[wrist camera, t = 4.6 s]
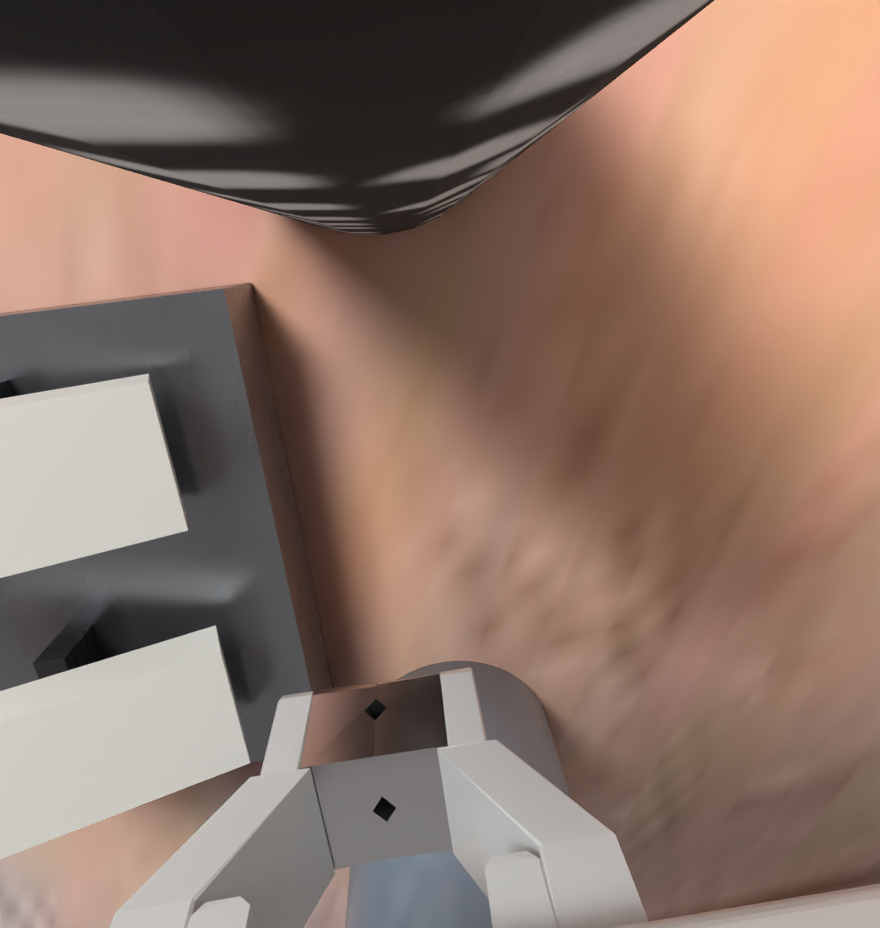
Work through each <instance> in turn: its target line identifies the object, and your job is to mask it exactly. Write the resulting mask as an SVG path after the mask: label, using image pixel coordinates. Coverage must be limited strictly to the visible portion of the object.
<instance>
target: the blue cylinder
mask: <svg viewBox="0 0 880 928" xmlns="http://www.w3.org/2000/svg"><path fill="white" fill-rule="evenodd" d="M467 667H471V669H472V670H473V673H474V678H475V683H476V688H477V693H478V698H479V703H480V708H481V713H482V718H483V723H484V728H485V733H486V738H487V741H488V740H495V739H496V740H498V741H499V742H501V743H502V744H503V745H504V746H506V747H507V748H508V749H509V750H511V751H512V752H513V753H514V754H516V755H517V756H518V757H519V758H521V759H522V760H523V761H524V762H526V763H527V764H528V765H529V766H531V767H532V768H533V769H534V770H536V771H537V772H538V773H539V774H541V775H542V776H543V777H544V778H546V779H547V780H548V781H549V782H551V783H552V784H553V785H554V786H556V787H557V788H558V789H559V790H561V791H562V792H563V793H564V794H566V795H567V796H568V797H569V798H571V795H570V792H569V788H568V785H567V782H566V779H565V776H564V772H563V769H562V766H561V763H560V760H559V756H558V753H557V750H556V747H555V744H554V741H553V737H552V734H551V731H550V728H549V725H548V721H547V718H546V715H545V712H544V709H543V707H542V705H541V703H540V701H539V700H538V698H537V697H536V695H535V694H534V693H533V691H532V690H531V689H530V688H529V687H528V686H527V685H526V684H525V683H523V682H522V681H521V680H519V679H518V678H517V677H515V676H514V675H512V674H510V673H508V672H506V671H504V670H502V669H499V668H497V667H494V666H491V665H487V664H483V663H477V662H470V661H452V662H442V663H437V664H432V665H429V666H425V667H422V668H419V669H417V670H415V671H412V672H410V673H408V674H406V675H404V676H403V677H401V678H399V679H398V680H402V679H408V678H415V677H421V676H428V675H434V674H439V675H440V672H445V671H451V670H456V669H462V668H467ZM440 682H441V679H440ZM441 688H442V687H441ZM571 799H572V798H571ZM345 928H492V921H491V914H490V906H489V899H488V898H487V896H486V895H485V894H484V893H483V891H482V890H481V889H480V887H479V886H478V885H477V883H476V882H475V881H474V880H473V878H472V877H471V876H470V874H469V873H468V872H467V871H466V869H465V868H464V867H463V865H462V864H461V863H460V861H459V860H458V859H457V858H456V856H455V855H454V854H453V851H445V852H437V853H430V854H422V855H414V856H406V857H399V858H392V859H386V860H381V861H376V862H371V863H365V864H360V865H355V866H350V875H349V887H348V900H347V912H346V925H345Z"/></svg>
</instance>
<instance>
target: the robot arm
mask: <svg viewBox="0 0 880 928" xmlns="http://www.w3.org/2000/svg"><path fill="white" fill-rule="evenodd" d="M440 679H441V682H440ZM441 687H442V688H441ZM445 851H453V854H454V855H455V856H456V858H457V859H458V860H459V861H460V863H461V864H462V865H463V867H464V868H465V869H466V871H467V872H468V873H469V874H470V876H471V877H472V878H473V880H474V881H475V882H476V883H477V885H478V886H479V887H480V889H481V890H482V891H483V893H484V894H485V895H486V896H487V898H488V899H489V906H490V914H491V921H492V928H880V883H879V884H873V885H867V886H861V887H855V888H849V889H843V890H837V891H831V892H825V893H819V894H813V895H806V896H800V897H794V898H788V899H782V900H776V901H770V902H764V903H758V904H752V905H746V906H740V907H733V908H727V909H721V910H715V911H709V912H703V913H697V914H691V915H685V916H679V917H673V918H667V919H660V920H654V921H649V920H648V918H647V915H646V913H645V910H644V907H643V905H642V902H641V900H640V897H639V894H638V892H637V889H636V887H635V884H634V881H633V879H632V876H631V874H630V871H629V868H628V866H627V863H626V861H625V858H624V855H623V853H622V850H621V848H620V845H619V842H618V840H617V837H616V835H615V834H614V833H613V832H612V831H611V830H609V829H608V828H607V827H606V826H604V825H603V824H602V823H601V822H599V821H598V820H597V819H596V818H594V817H593V816H592V815H591V814H589V813H588V812H587V811H586V810H584V809H583V808H582V807H581V806H579V805H578V804H577V803H576V802H574V801H573V800H572V799H571V798H569V797H568V796H567V795H566V794H564V793H563V792H562V791H561V790H559V789H558V788H557V787H556V786H554V785H553V784H552V783H551V782H549V781H548V780H547V779H546V778H544V777H543V776H542V775H541V774H539V773H538V772H537V771H536V770H534V769H533V768H532V767H531V766H529V765H528V764H527V763H526V762H524V761H523V760H522V759H521V758H519V757H518V756H517V755H516V754H514V753H513V752H512V751H511V750H509V749H508V748H507V747H506V746H504V745H503V744H502V743H501V742H499V741H498V740H496V739H495V740H488V741H487V738H486V733H485V728H484V723H483V718H482V713H481V708H480V703H479V698H478V693H477V688H476V683H475V678H474V673H473V670H472V669H471V667H467V668H462V669H456V670H451V671H445V672H440V675H439V674H434V675H428V676H421V677H415V678H408V679H402V680H395V681H389V682H382V683H371V684H364V685H356V686H348V687H340V688H332V689H324V690H316V691H315V692H313V691H310V692H303V693H296V694H289V695H283V696H282V697H281V699H280V700H279V701H278V704H277V709H276V713H275V717H274V721H273V725H272V729H271V733H270V737H269V741H268V745H267V749H266V753H265V758H264V762H263V766H262V770H261V774H260V776H254V777H250V778H249V779H248V780H247V781H246V782H245V783H244V784H243V785H242V786H241V787H240V788H239V789H238V790H237V791H236V792H235V793H234V794H233V795H232V796H231V797H230V798H229V799H228V800H227V801H226V802H225V803H224V804H223V805H222V806H221V807H220V808H219V809H218V810H217V811H216V812H215V813H214V814H213V815H212V816H211V817H210V818H209V819H208V820H207V821H206V822H205V823H204V824H203V825H202V826H201V827H200V828H199V829H198V830H197V831H196V832H195V833H194V834H193V835H192V836H191V837H190V838H189V839H188V840H187V841H186V842H185V843H184V844H183V845H182V846H181V847H180V848H179V849H178V850H177V851H176V852H175V853H174V854H173V855H172V856H171V857H170V858H169V859H168V860H167V861H166V863H165V864H164V865H163V866H162V867H161V868H160V869H159V870H158V871H157V872H156V873H155V874H154V875H153V876H152V877H151V878H150V879H149V880H148V881H147V882H146V883H145V884H144V885H143V886H142V887H141V888H140V889H139V890H138V891H137V892H136V893H135V894H134V895H133V896H132V897H131V898H130V899H129V900H128V901H127V902H126V903H125V904H124V905H123V906H122V907H121V908H120V909H119V910H118V911H117V912H116V913H115V915H114V918H113V920H112V922H111V925H110V927H109V928H303V926H304V925H305V923H306V921H307V920H308V918H309V916H310V915H311V913H312V911H313V910H314V908H315V906H316V904H317V903H318V901H319V899H320V898H321V896H322V894H323V893H324V891H325V889H326V888H327V886H328V884H329V883H330V881H331V879H332V877H333V876H334V874H335V871H334V869H339V868H344V867H350V866H355V865H360V864H365V863H371V862H376V861H381V860H386V859H392V858H399V857H406V856H414V855H422V854H430V853H437V852H445Z"/></svg>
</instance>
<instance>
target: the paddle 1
mask: <svg viewBox="0 0 880 928" xmlns="http://www.w3.org/2000/svg"><path fill="white" fill-rule="evenodd" d="M184 531H188V526H187V519H186V512H185V508H184V504H183V500H182V497H181V493H180V489H179V485H178V482H177V478H176V474H175V470H174V467H173V463H172V459H171V455H170V452H169V448H168V444H167V440H166V437H165V433H164V429H163V425H162V421H161V418H160V414H159V410H158V406H157V403H156V399H155V395H154V391H153V388H152V384H151V380H150V376H149V374H144V375H138V376H132V377H126V378H120V379H114V380H108V381H102V382H96V383H90V384H85V385H79V386H73V387H67V388H61V389H55V390H49V391H43V392H37V393H31V394H25V395H20V396H14V397H8V398H2V399H0V578H3V577H7V576H11V575H14V574H18V573H22V572H26V571H30V570H34V569H38V568H42V567H46V566H50V565H54V564H58V563H62V562H66V561H70V560H74V559H78V558H82V557H86V556H90V555H93V554H97V553H101V552H105V551H109V550H113V549H117V548H121V547H125V546H129V545H133V544H137V543H141V542H145V541H149V540H153V539H157V538H161V537H165V536H169V535H172V534H176V533H180V532H184Z"/></svg>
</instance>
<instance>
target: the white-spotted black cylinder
mask: <svg viewBox="0 0 880 928" xmlns="http://www.w3.org/2000/svg"><path fill="white" fill-rule="evenodd" d="M713 1H714V0H0V133H2V134H5V135H9V136H12V137H15V138H19V139H22V140H26V141H29V142H32V143H36V144H39V145H43V146H46V147H50V148H53V149H56V150H60V151H63V152H67V153H70V154H73V155H77V156H80V157H84V158H87V159H91V160H94V161H97V162H101V163H104V164H108V165H111V166H114V167H118V168H121V169H125V170H128V171H132V172H135V173H138V174H142V175H145V176H149V177H152V178H155V179H159V180H162V181H166V182H169V183H173V184H176V185H179V186H183V187H186V188H190V189H193V190H196V191H200V192H203V193H207V194H210V195H213V196H217V197H220V198H224V199H227V200H231V201H234V202H237V203H241V204H244V205H248V206H251V207H254V208H258V209H261V210H265V211H268V212H272V213H275V214H278V215H282V216H285V217H289V218H292V219H295V220H299V221H302V222H306V223H309V224H313V225H316V226H319V227H323V228H327V229H331V230H336V231H341V232H345V233H350V234H389V233H393V232H398V231H403V230H408V229H412V228H415V227H417V226H419V225H421V224H424V223H426V222H428V221H431V220H433V219H435V218H437V217H439V216H441V215H442V214H444V213H445V212H446V211H448V210H449V209H451V208H452V207H453V206H455V205H456V204H458V203H459V202H460V201H462V200H463V199H465V198H466V197H467V196H468V195H470V194H471V193H472V192H473V191H475V190H476V189H477V188H478V187H480V186H481V185H482V184H483V183H485V182H486V181H487V180H488V179H490V178H491V177H492V176H493V175H495V174H496V173H497V172H499V171H500V170H501V169H502V168H504V167H505V166H506V165H507V164H509V163H510V162H511V161H512V160H514V159H515V158H516V157H517V156H519V155H520V154H521V153H522V152H524V151H525V150H526V149H528V148H529V147H530V146H531V145H533V144H534V143H535V142H536V141H538V140H539V139H540V138H541V137H543V136H544V135H545V134H546V133H548V132H549V131H550V130H551V129H553V128H554V127H555V126H556V125H558V124H559V123H560V122H562V121H563V120H564V119H565V118H567V117H568V116H569V115H570V114H572V113H573V112H574V111H575V110H577V109H578V108H579V107H580V106H582V105H583V104H584V103H585V102H587V101H588V100H589V99H591V98H592V97H593V96H594V95H596V94H597V93H598V92H599V91H601V90H602V89H603V88H604V87H606V86H607V85H608V84H609V83H611V82H612V81H613V80H614V79H616V78H617V77H618V76H620V75H621V74H622V73H623V72H625V71H626V70H627V69H628V68H630V67H631V66H632V65H633V64H635V63H636V62H637V61H638V60H640V59H641V58H642V57H643V56H645V55H646V54H647V53H648V52H650V51H651V50H652V49H654V48H655V47H656V46H657V45H659V44H660V43H661V42H662V41H664V40H665V39H666V38H667V37H669V36H670V35H671V34H672V33H674V32H675V31H676V30H677V29H679V28H680V27H681V26H683V25H684V24H685V23H686V22H688V21H689V20H690V19H691V18H693V17H694V16H695V15H696V14H698V13H699V12H700V11H701V10H703V9H704V8H705V7H706V6H708V5H709V4H710V3H711V2H713Z"/></svg>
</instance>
